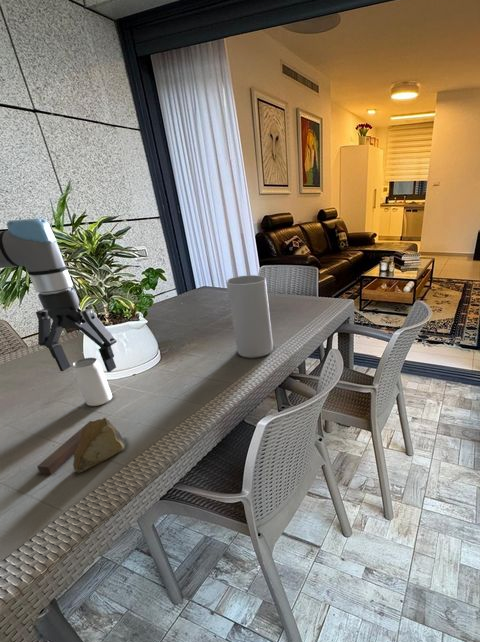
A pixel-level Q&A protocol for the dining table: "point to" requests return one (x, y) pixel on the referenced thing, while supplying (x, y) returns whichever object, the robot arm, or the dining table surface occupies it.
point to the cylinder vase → (250, 315)
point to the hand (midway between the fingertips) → (88, 369)
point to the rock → (97, 444)
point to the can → (92, 381)
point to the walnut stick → (61, 454)
